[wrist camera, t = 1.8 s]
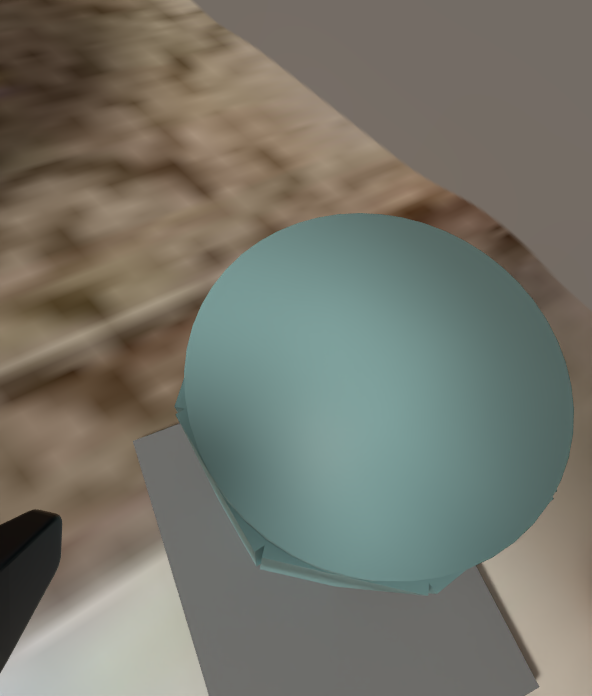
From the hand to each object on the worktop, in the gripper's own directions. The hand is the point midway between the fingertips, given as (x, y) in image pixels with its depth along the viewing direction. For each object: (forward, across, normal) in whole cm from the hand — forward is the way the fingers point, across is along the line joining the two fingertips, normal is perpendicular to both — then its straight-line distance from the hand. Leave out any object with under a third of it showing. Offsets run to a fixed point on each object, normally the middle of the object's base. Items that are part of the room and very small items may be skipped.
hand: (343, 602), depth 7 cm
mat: (+9, -1, +7) cm, 11 cm away
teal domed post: (+10, 0, +5) cm, 11 cm away
